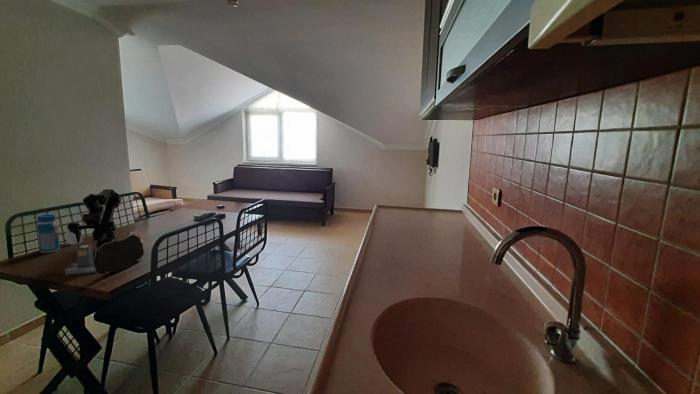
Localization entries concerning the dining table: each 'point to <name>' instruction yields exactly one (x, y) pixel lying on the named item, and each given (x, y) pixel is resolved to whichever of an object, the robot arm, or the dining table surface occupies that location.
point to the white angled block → (72, 238)
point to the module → (84, 256)
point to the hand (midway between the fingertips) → (89, 241)
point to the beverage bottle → (48, 234)
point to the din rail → (79, 270)
